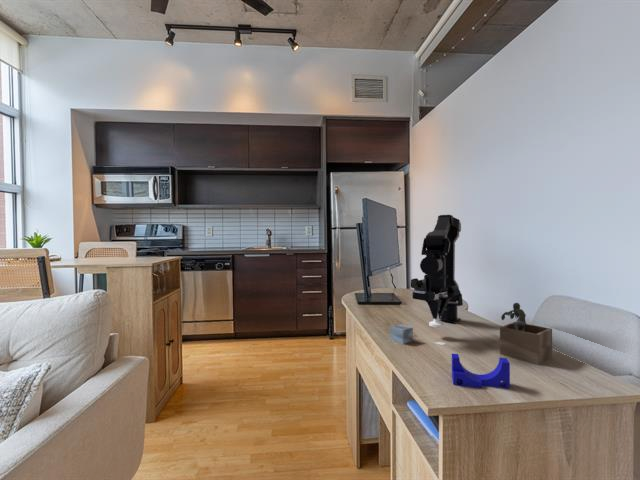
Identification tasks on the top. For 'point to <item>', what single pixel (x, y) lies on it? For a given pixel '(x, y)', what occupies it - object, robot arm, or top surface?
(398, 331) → the blue cube
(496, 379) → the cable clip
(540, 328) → the open brown box
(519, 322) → the zombie figurine
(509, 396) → the top surface
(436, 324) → the chess piece
